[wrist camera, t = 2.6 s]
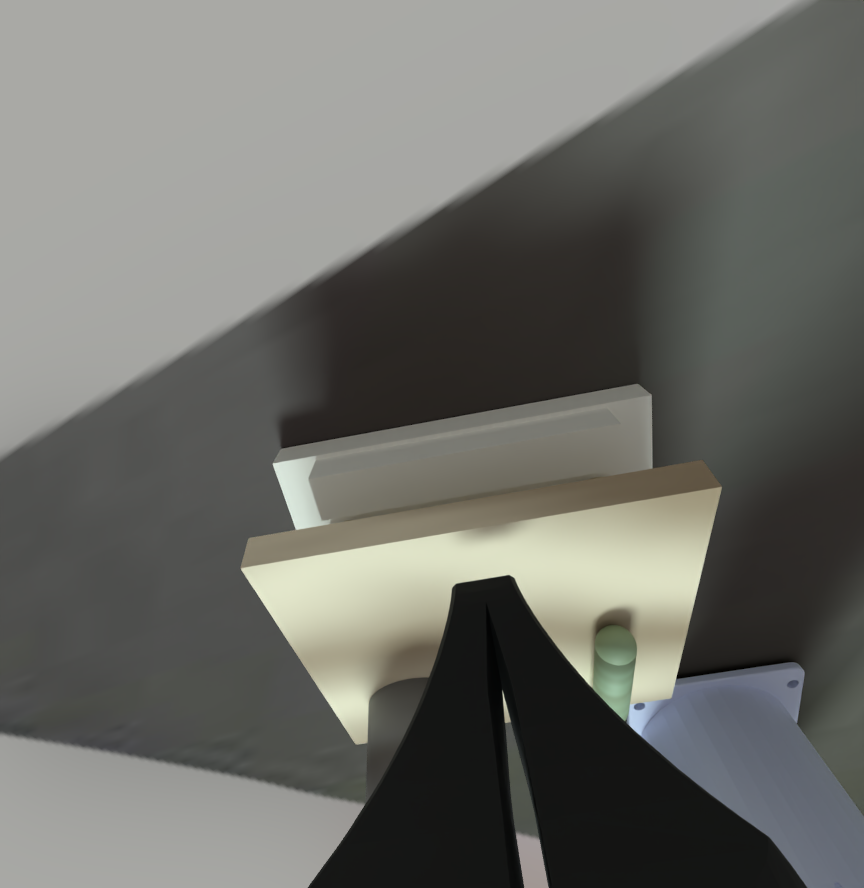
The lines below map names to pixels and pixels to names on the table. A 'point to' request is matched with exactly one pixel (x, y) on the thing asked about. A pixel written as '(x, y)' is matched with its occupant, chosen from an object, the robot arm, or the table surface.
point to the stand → (468, 457)
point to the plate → (486, 556)
